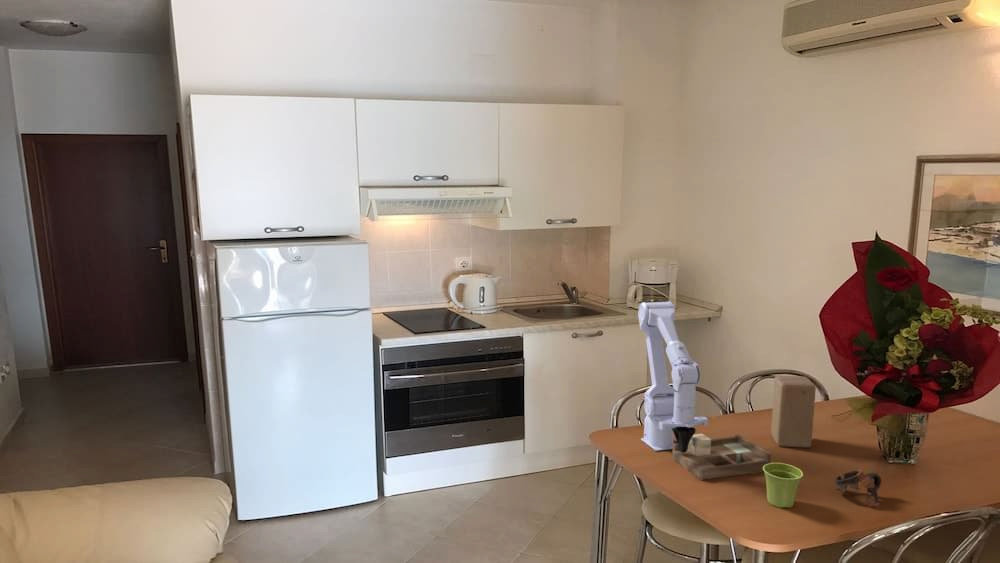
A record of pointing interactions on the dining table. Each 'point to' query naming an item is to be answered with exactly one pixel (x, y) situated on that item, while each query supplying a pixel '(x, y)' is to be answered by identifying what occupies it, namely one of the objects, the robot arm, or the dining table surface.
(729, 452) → the trap box
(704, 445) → the maple block
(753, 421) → the dining table surface
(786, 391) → the wooden block
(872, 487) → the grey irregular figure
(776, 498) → the plant pot
